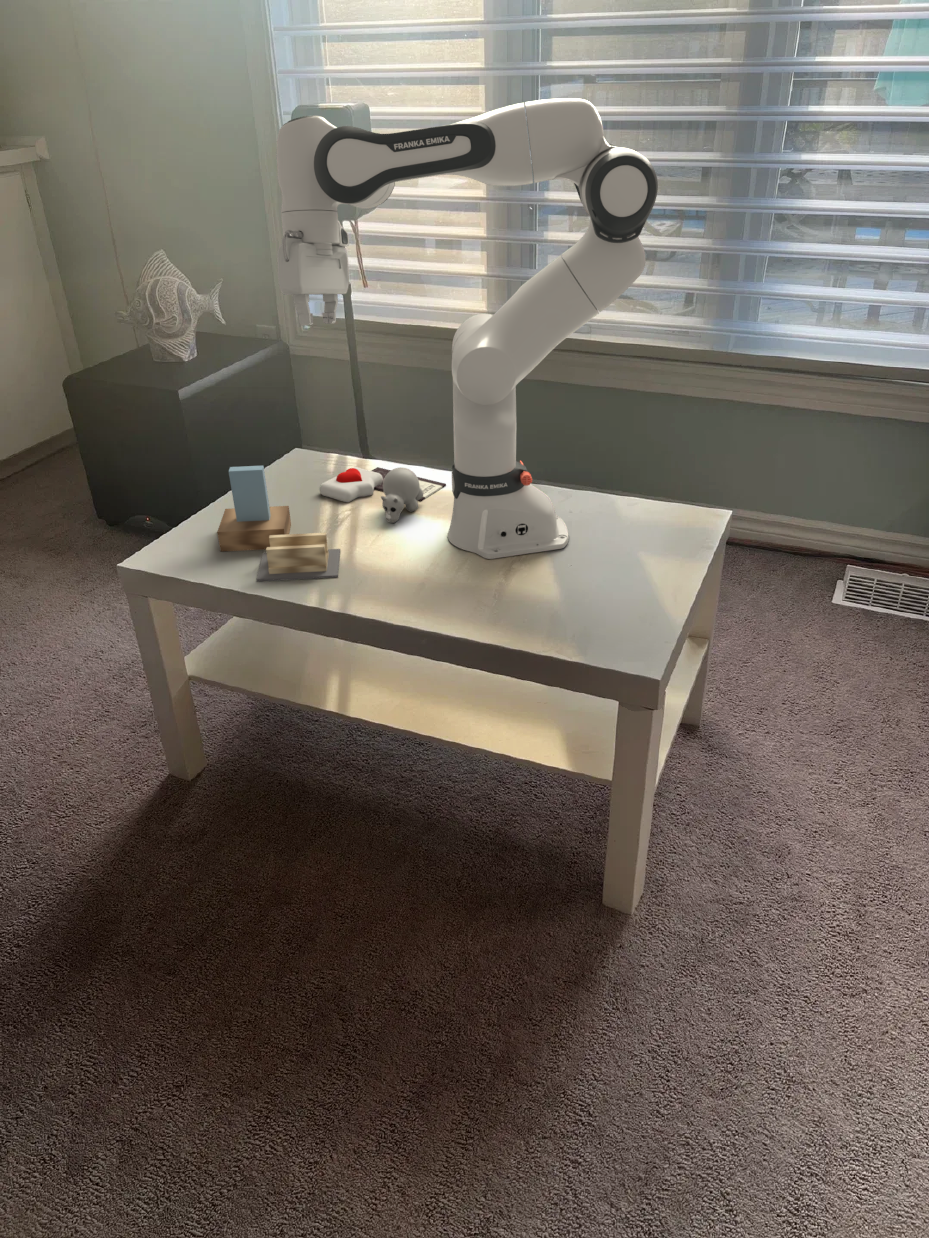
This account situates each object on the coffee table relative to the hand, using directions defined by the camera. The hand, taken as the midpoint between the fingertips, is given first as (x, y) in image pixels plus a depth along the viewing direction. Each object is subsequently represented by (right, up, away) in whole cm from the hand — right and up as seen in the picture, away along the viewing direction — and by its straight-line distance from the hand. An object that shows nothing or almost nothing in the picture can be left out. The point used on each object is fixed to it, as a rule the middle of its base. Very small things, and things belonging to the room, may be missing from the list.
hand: (318, 324), depth 150 cm
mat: (-5, -39, +13) cm, 41 cm away
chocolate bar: (+10, -20, +44) cm, 49 cm away
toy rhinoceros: (+11, -27, +31) cm, 43 cm away
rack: (-5, -39, +13) cm, 41 cm away
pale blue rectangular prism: (-15, -29, +21) cm, 39 cm away
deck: (-15, -33, +23) cm, 43 cm away
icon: (+1, -22, +41) cm, 47 cm away
